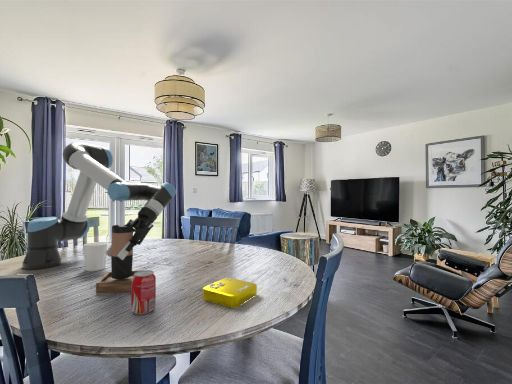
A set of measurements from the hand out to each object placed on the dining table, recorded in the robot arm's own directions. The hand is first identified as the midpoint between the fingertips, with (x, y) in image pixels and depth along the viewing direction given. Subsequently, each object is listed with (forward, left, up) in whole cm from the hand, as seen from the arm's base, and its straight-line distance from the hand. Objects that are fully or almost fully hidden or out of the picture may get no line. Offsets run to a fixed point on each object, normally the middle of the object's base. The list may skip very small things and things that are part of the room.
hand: (113, 256), depth 104 cm
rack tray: (-2, +2, -12) cm, 13 cm away
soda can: (+23, +14, -13) cm, 30 cm away
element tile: (+16, +43, -13) cm, 48 cm away
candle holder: (-30, -16, -13) cm, 36 cm away
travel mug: (-2, +2, -9) cm, 9 cm away
